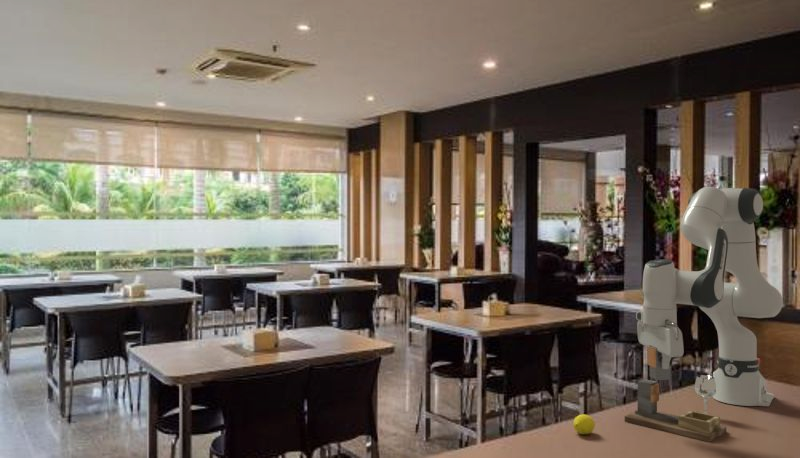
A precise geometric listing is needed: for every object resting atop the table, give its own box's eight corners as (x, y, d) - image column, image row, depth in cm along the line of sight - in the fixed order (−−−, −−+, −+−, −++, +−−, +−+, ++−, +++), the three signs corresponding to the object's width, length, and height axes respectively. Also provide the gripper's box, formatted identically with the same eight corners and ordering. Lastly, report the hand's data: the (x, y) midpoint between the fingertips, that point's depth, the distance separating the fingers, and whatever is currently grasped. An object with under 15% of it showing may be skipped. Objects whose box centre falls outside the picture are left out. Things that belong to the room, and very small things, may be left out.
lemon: (582, 431, 176) (583, 411, 177) (598, 436, 172) (600, 416, 172) (567, 432, 172) (568, 412, 172) (583, 437, 168) (585, 417, 168)
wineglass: (718, 419, 185) (718, 379, 185) (697, 418, 186) (697, 378, 186) (712, 414, 191) (712, 375, 191) (692, 413, 192) (692, 374, 192)
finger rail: (643, 413, 192) (643, 376, 192) (726, 432, 174) (726, 391, 174) (624, 421, 183) (624, 382, 183) (709, 441, 166) (709, 398, 166)
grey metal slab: (663, 376, 177) (662, 344, 177) (670, 379, 173) (669, 347, 173) (647, 376, 177) (647, 345, 177) (654, 380, 173) (653, 348, 173)
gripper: (689, 323, 165) (690, 375, 165) (653, 312, 185) (654, 358, 185) (666, 323, 164) (667, 375, 164) (633, 312, 185) (633, 358, 185)
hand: (660, 366), depth 175 cm, fingers closed on grey metal slab, 4 cm apart
